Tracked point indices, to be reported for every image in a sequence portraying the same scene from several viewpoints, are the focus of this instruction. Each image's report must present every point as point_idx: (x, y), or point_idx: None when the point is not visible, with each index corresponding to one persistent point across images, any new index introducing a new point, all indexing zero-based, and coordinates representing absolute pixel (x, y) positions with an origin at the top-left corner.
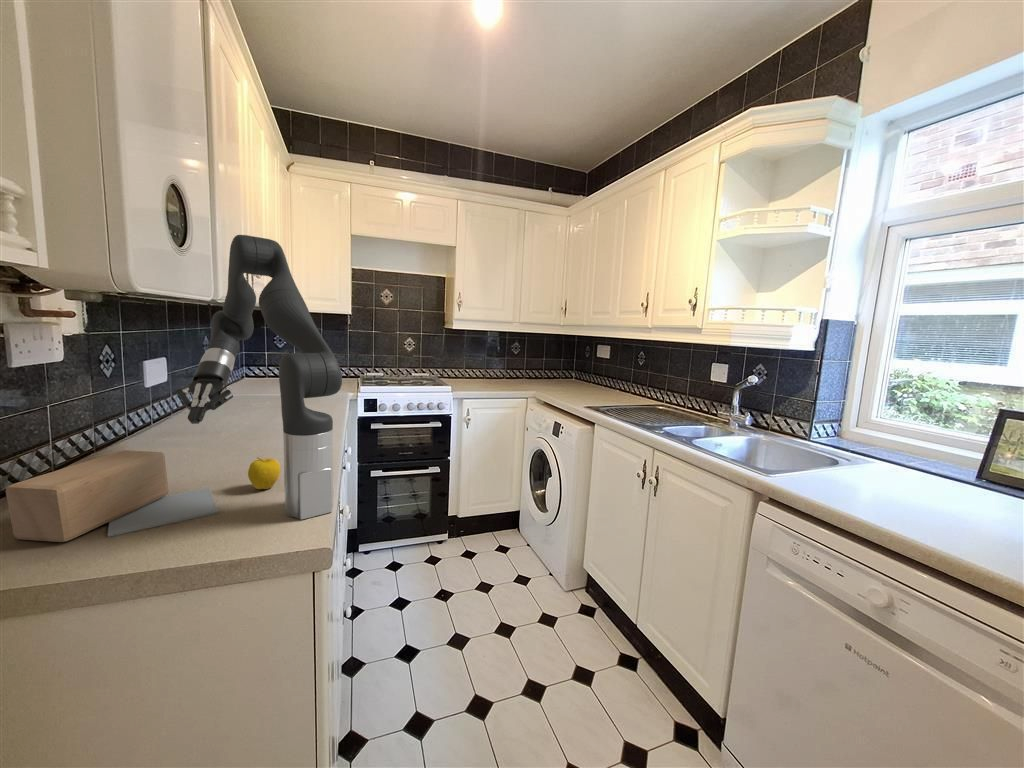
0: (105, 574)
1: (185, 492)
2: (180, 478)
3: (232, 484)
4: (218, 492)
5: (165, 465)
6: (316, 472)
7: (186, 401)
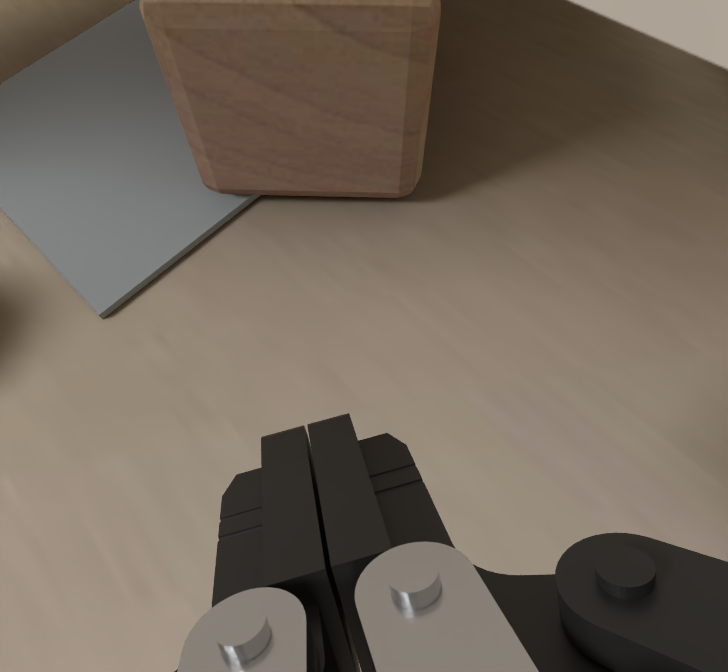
0: None
1: (172, 250)
2: (365, 432)
3: (18, 401)
4: (36, 297)
5: (165, 77)
6: None
7: (667, 599)
